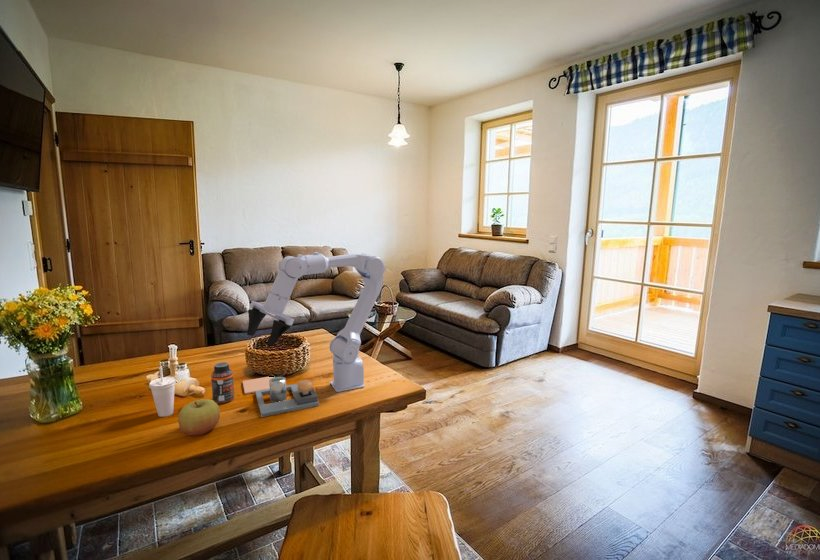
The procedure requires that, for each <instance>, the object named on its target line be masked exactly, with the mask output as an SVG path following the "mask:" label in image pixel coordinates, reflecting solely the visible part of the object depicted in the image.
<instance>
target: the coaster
mask: <svg viewBox="0 0 820 560" xmlns="http://www.w3.org/2000/svg"><path fill="white" fill-rule="evenodd" d="M274 377H275V376H274ZM274 377H269V376H264V377H257V378H251V379H246V380H242V387H243V392H244V395H246V394H247V395H251V393H252V394H256V393H255V391H259V390H265V389H270V387H269V380H270V379H272V378H274Z"/></svg>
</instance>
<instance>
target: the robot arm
mask: <svg viewBox="0 0 820 560" xmlns="http://www.w3.org/2000/svg"><path fill="white" fill-rule="evenodd" d="M340 267H352V268H354V269H355V270H356V272H357V273H358V274H359V275H360V277H361V278H362V281H363V283H364V287H363V288H362V290H361V293H360V294H359V297H358V299H357V300H356V303H355V305H354V307H353V309H352V311H351V313H350V315H349V317H348V319H347V322H346V324H345V326H344V327H343V328H342V329H341V330H339V331H337V335H336V336H335V337H334V338H333V339H331V340H330V343H329V350H330V352H331V354H333V358H332V366H333V369H332V371H333V374H332V375H333V380H331V381H329V383H330V385H331V386H332V388H333V390H335V392H336V393H339V392H340V393H341V392H346V391H349V390H350V391H351V390H354V389H355V390H357V389H361V388H364V387H365V380H364V378H365V377H364V373H365V371H364V363H363V360H362V358H361V356H359V353H360V347H361V344H362V341H361V333H362V331H363V329H364V327H365V325H366V323H367V320H368V318H369V316H370V315H371V311H372V309H373V307H374V305H375V303H376V301H377V299H378V297H379V295H380V294H381V293H380V292H381V291H382V288H383V286H384V273H385V271H386V266H385V263H384V261H383V259H382V258H381V257H380V256H377V255H370V254H366V253H345V254H340V255H334V256H325V255H324V254H323V253H319V252H318V251H314V252H312V254H306V255H303V254H301V253H299V254H297V256H292V255H288V256H287V255H286V256H285V257H284V258H282V259H281V260H280V261H278V269H279V270H278V273H277V276H276V277H275V279H274V281H273V283H272V286H271V289H270V290H269V292H268V295H267V297H266V298H265V299H266V300H265V301H264V304H262V303H260V302H257V301H255V300H252V301H251V303H250V306H249V309H248V310H247V314H248V327H247V333H246V335H248V336H251V337H252V336H254V335H256V333H257V332H256V331H257V330H258V328H259V326H260V325H261V322H262V321H263V319H264V318H265V317H266V316H269V317H271V318H273V322H272V328H271V332H270V334H269V337H268V340H267V342H266V343H267V344H266V345H268V346H269V347H270V346H271V347H274V345H275V344H276V343H277V341H278V340H279V339H280V337H281V336H282V335H284V333H285V332H287V331H288V330H289V329H291V326H293V324H294V321H295V318H292V317H291V316H288V315H287V314H285V313H284V311H285V310H286V307H287V304H288V302H289V300H290V298H291V295H292V293H293V291H294V288H295V287H296V284H297V281H298V279H299V278H301V277H303V276H305V275H306V276H308V275H313V274H314V275H315V274H320V273H321V274H322V273H325V272H326V271H327V270H328V269H329V268H340ZM358 356H359V357H358Z"/></svg>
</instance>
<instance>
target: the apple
mask: <svg viewBox="0 0 820 560" xmlns="http://www.w3.org/2000/svg"><path fill="white" fill-rule="evenodd" d="M220 420H221V410H220V406H219V404H218V403H215V402H214V401H213V399H210V398H207V399H205V398H204V399H203V398H202V399H196V400H194V401H191V402H189V403H187V404H185V405H183V407H182V408H181V410H180V411H179V413H178V416H177V422H178V426H179V429H180V430H181V431H182V432H183V433H185V434H187V435H189V436H201V435H204V434H207V433H210V432H211V431H212V430H213V429H214V428H215V427H216V426H217V425H218V423H219V421H220Z"/></svg>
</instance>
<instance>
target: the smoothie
mask: <svg viewBox="0 0 820 560" xmlns="http://www.w3.org/2000/svg"><path fill="white" fill-rule="evenodd" d="M163 373H164V372H163V367H162V366H159V374H160V376H159V378H156V379H153V380H151V381H150V382H149V384H148V388H149V389H151V394H152V397H153V400H154V405H155V408H156V412H157V415H158V417H162V418H163V417H164V418H165V417H168V416H171V415H173V414H174V410H175V408H174V406H175V405H174V404H175V386H176V385H175V384H177V380H176V377H173V376H164V374H163Z"/></svg>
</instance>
